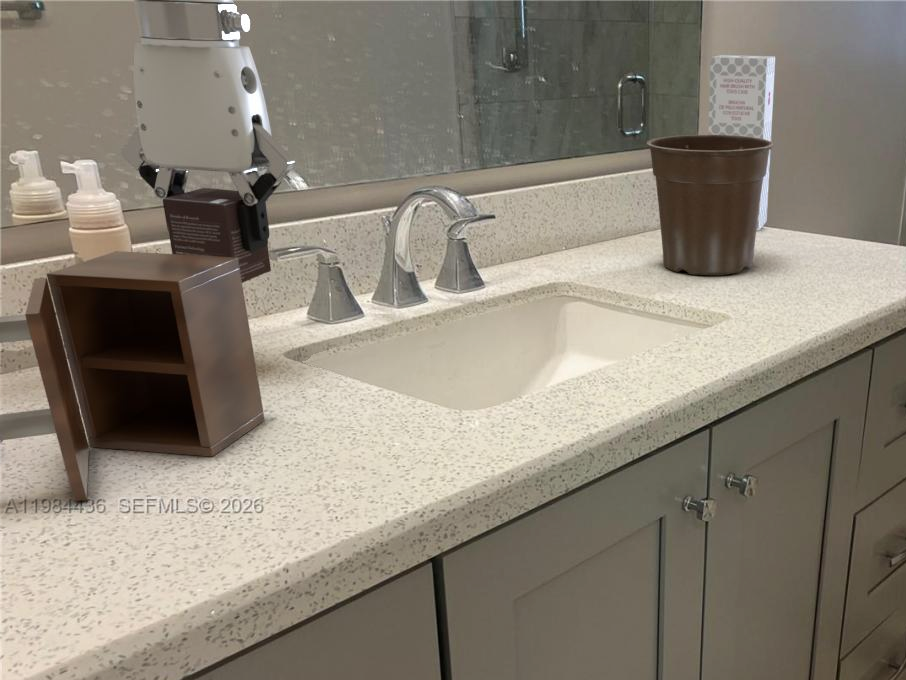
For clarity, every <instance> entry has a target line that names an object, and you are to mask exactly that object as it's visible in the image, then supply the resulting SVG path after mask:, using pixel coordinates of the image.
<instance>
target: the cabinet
mask: <svg viewBox="0 0 906 680" xmlns="http://www.w3.org/2000/svg"><path fill="white" fill-rule="evenodd" d="M46 278H47V281H48V285H49V289H50V293H51V297H52V301H53V305H54V309H55V313H56V317H57V321H58V325H59V329H60V333H61V337H62V341H63V345H64V349H65V353H66V357H67V361H68V365H69V369H70V373H71V377H72V381H73V386H74V390H75V394H76V398H77V402H78V406H79V410H80V414H81V418H82V422H83V426H84V430H85V434H86V438H87V442H88V446H89V448H102V449H113V450H126V451H137V452H152V453H164V454H173V455H176V454H177V455H187V456H188V455H189V456H198V457H199V456H200V457H214V456H215V455H217V454H219V453H220V452H221V451H223V450H224V449H226V448H227V447H228V446H230V445H231V444H233V443H235V441H237V440H238V439H240V438H241V437H242V436H244V435H246V434H247V433H248V432H250V431H251V430H253V429H254V428H256V427H257V426H259V425H260V424H261V423H263V422H265V414H264V413H265V412H264V406H263V402H262V395H261V389H260V382H259V377H258V370H257V365H256V358H255V353H254V346H253V340H252V335H251V329H250V322H249V316H248V312H247V305H246V299H245V293H244V287H243V283H242V280H241V274H240V268H239V262H238V258H237V257H218V256H199V255H181V254H172V253H161V252H160V253H159V252H144V251H143V252H141V251H122V250H116V251H113V252H109V253H106V254H103V255H100V256H97V257H93V258H91V259H88V260H85V261H82V262H79V263H75V264H73V265H72V264H71V265H70V266H66V267H62V268H59V269H57V270H54V271H51V272H48V273H46Z"/></svg>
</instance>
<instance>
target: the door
mask: <svg viewBox="0 0 906 680" xmlns="http://www.w3.org/2000/svg"><path fill="white" fill-rule="evenodd" d="M24 341H25V342H26V341H31V342H32V346H33V350H34V354H35V358H36V361H37V365H38V369H39V374H40V377H41V380H42V384H43V385H42V386H43V388H44V392H45V396H46V400H47V403H48V407H49V408H42V409H34V410H27V411H19V412H11V413H3V414H0V442H1V441H7V440H15V439H23V438H31V437H38V436H46V435H53V434H56V437H57V442H58V445H59V449H60V450H59V451H60V453H61V457H62V460H63V466H64V469H65V471H66V472H65V473H66V475H67V476H66V477H67V480H68V483H69V487H70V491H71V495H72V499H73V501H74V502H79V501H80V502H81V501H86V500H88V481H89V480H88V479H89V457H90V456H89V452H90V446H89V442H88V437H87V434H86V430H85V426H84V422H83V418H82V414H81V410H80V406H79V402H78V398H77V394H76V390H75V386H74V382H73V378H72V373H71V369H70V365H69V361H68V357H67V353H66V349H65V345H64V341H63V337H62V333H61V329H60V325H59V321H58V317H57V313H56V309H55V305H54V301H53V297H52V293H51V289H50V284H49V282H48V278H47V277H38V278H37V277H36V278H34V279H33V282H32V287H31V290H30V295H29V298H28V302H27V306H26V310H25V314H16V315H5V316H4V315H3V316H0V344H4V343H12V342H13V343H14V342H24Z"/></svg>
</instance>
